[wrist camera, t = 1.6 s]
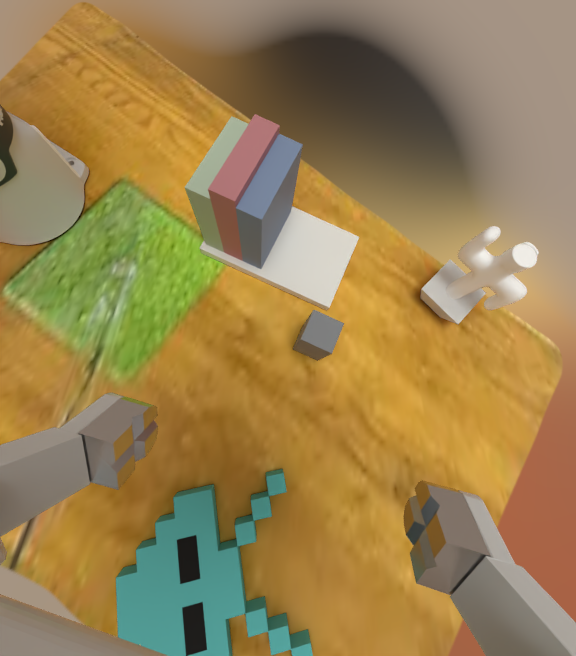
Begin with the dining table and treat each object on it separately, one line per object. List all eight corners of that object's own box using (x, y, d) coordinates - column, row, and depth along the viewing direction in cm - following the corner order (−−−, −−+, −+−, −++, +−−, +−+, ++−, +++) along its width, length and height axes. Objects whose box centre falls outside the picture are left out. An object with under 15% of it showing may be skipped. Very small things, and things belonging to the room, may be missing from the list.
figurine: (446, 335, 42) (545, 306, 28) (403, 292, 43) (476, 242, 28) (472, 305, 44) (578, 263, 29) (430, 265, 45) (512, 204, 30)
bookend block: (292, 349, 39) (300, 339, 31) (303, 325, 40) (313, 309, 32) (317, 360, 39) (331, 353, 31) (327, 336, 40) (343, 323, 32)
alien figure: (282, 467, 36) (122, 503, 33) (283, 472, 34) (113, 511, 31) (310, 648, 32) (132, 705, 29) (314, 667, 30) (121, 730, 27)
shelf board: (201, 253, 41) (171, 182, 27) (239, 188, 44) (230, 94, 30) (326, 310, 41) (362, 269, 27) (355, 242, 44) (400, 173, 30)
